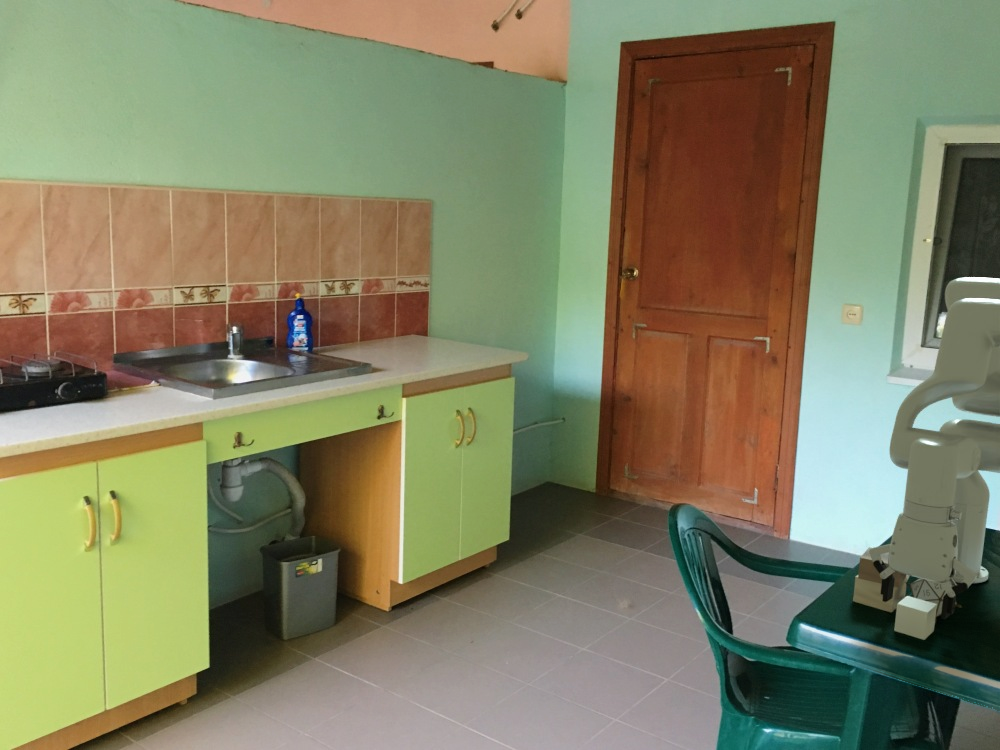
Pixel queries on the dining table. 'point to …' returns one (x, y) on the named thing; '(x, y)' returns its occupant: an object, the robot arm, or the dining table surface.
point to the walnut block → (870, 572)
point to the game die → (929, 593)
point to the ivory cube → (915, 617)
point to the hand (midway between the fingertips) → (915, 608)
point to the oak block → (877, 594)
